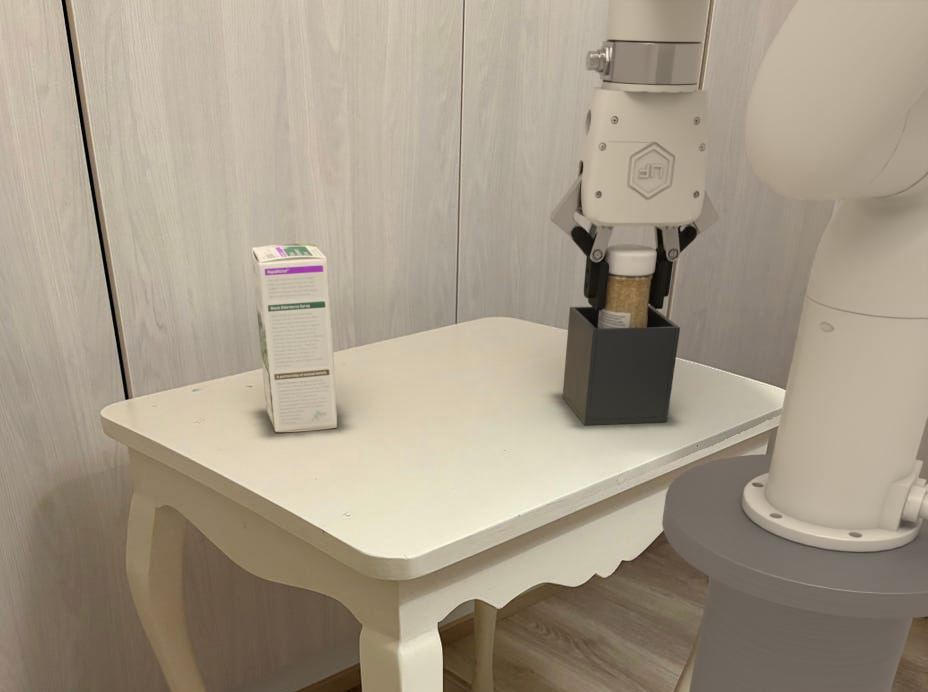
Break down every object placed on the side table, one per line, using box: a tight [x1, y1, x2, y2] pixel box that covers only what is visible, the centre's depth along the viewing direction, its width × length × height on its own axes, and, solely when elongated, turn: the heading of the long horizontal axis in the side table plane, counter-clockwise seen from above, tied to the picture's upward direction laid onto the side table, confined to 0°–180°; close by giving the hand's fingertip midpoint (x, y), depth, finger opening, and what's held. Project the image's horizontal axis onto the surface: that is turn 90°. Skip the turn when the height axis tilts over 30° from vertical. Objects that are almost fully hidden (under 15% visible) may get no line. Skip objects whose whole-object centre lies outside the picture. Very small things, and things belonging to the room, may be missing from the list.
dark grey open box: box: [562, 304, 681, 426], centre depth 91 cm, size 8×8×8 cm
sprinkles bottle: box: [598, 243, 657, 329], centre depth 89 cm, size 5×5×14 cm
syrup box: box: [251, 243, 338, 433], centre depth 85 cm, size 6×6×14 cm
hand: (624, 303), depth 88 cm, fingers closed on sprinkles bottle, 4 cm apart
